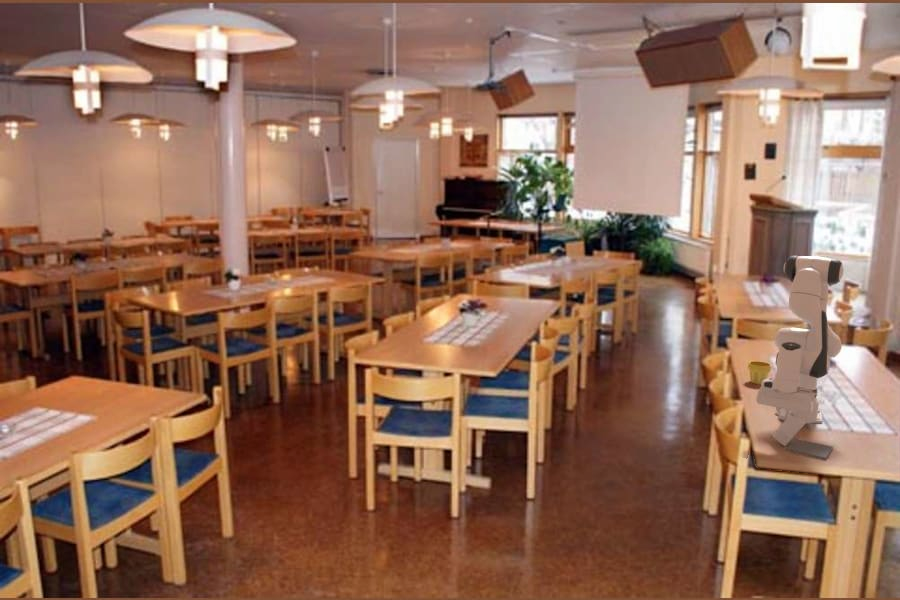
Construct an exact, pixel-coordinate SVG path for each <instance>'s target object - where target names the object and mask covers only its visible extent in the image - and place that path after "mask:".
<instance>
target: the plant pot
mask: <svg viewBox="0 0 900 600" xmlns="http://www.w3.org/2000/svg"><path fill="white" fill-rule="evenodd" d="M747 369H748V371H749V376H750V377H749V379H750V383H752V384H756V385H761V382H762V381H763V380H765V379H767V378H768V377H769V376H768V375H769V373H770V372H771V369H772V364H771V363H769V362H765V361H761V360H751V361H749V362H748V366H747Z"/></svg>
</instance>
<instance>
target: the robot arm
mask: <svg viewBox="0 0 900 600" xmlns="http://www.w3.org/2000/svg"><path fill="white" fill-rule="evenodd" d="M783 274H784V277H785V278H786V280H789V281H790V282H791V288H790V290H789V291H790V293H789V297H788V308H789V310H790V311H791V312H792V314H793V315H794V316H795V317H797V318H798V319H801V320H802V321H803V322H806V323H807V324H808V325H809V326H810V329H806V328H799V327H781V328H779V329H778V330H777V331H776V333H775V336H774V344H775V347H776V348H777V349H778V352H777V353H776V357H775V366H776V372H775V375H774V377H769V378H768V377H767V379H765V380H763V381H762V382H761V384H760V385H761V386H760V387H759V388H758V391H757V394H756V399H755V401H756V403H757V404H759V405H764V406H766V407H767V406H769V407H772V408H773V407H774V408H775V412H774V414H775V415H777V416H778V417H777V419H778V420H783V421H785V420H786V419H787V418H788V417H789V415H790V414H792V413H793V412H794V413H795V414H797V415H798V416H799V417H800V418H802V419H803V420H804V421H805V422H806V423H805V424H822V423H823V414H822V411H821V410H820V409H819V404H820V403H819V400H818V398H817V396H818V388H817V386H818V379H820V378H823V377H825V376H826V375H828V374H829V371H830V367H831V362H830V358H835V357H837V356H838V355H839V353H840V352H841V350H842V345H843V344H842V340H841V338H840V336H838V335H837V334H836V333H835V332H834V330H832V328H831V326H830V325H829V322H828V317H827V309H828V308H827V306H828V300H829V299H828V297H829V287H832V286H834V285H837V284H838V283H840V282H841V279H842V278H843V276H844V266H843V262H842V261H841V260H839V259H837V258H829V257H823V256H810V255H809V256H807V255H806V256H805V255H801V256H799V255H790V256H789V257H788V258H787V259H786V260H785V263H784V264H783Z"/></svg>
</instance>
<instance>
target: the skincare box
mask: <svg viewBox="0 0 900 600" xmlns="http://www.w3.org/2000/svg"><path fill="white" fill-rule="evenodd" d="M806 424H807V423H806V422H805V421H804V420H803V419H802V418H800V417H799V416H798V415H797V414H795V413H794V412H793V413H792V414H790V415H789V417H788V418H787V419H786V420H783V422H782V424H781V425H780V426H779V427H778V428H777V430H776V431H775V432H774V433H773V434H772V437H773V438H774V439H775V440H776V441H778V442H779V443H780V444H781V445H782V446H784V447H786V446H787V445H788V444H789V443H791V442H792V440H793V439H794V438H795V436H796V435H797V434H798V433H799V431H800V430H802V428H803V427H804V426H805V425H806Z"/></svg>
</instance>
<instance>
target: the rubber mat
mask: <svg viewBox="0 0 900 600" xmlns="http://www.w3.org/2000/svg"><path fill="white" fill-rule="evenodd" d="M789 443H790V444H789V445H788V446H787V447H786V449H785V451H786V452H788V451H789V452H788V453H792V452H793V454H796V453H798V454H797V455H801V454H802V455H801V456H805V455H806V456H805V457H810V456H811V458H814V457H815V459H818V458H820V459H819V460H823V459H824V460H823V461H827V460H826V459H828V458H829V457H830V455H831V453H832V452H833V449H834V446H831V445H827V444H823V443H817V442H814V441H809V440H805V439H799V438H795V437H793V439H792V440H791V441H790V442H789Z"/></svg>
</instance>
